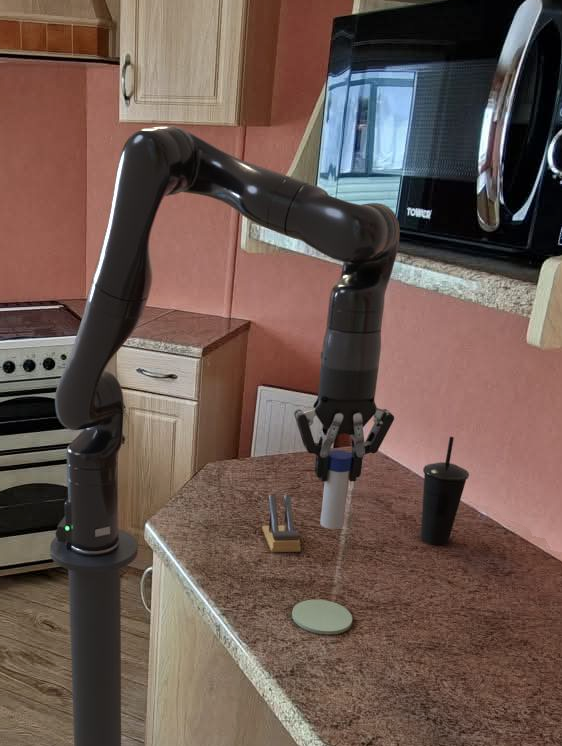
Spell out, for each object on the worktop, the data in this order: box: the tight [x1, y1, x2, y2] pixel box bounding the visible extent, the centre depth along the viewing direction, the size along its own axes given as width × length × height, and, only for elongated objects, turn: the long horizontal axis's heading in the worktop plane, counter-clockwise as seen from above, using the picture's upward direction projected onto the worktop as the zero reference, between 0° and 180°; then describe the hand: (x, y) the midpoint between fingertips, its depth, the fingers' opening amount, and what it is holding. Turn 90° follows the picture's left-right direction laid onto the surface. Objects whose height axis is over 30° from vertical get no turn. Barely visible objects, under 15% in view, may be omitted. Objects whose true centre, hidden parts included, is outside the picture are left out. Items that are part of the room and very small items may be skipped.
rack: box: [261, 493, 302, 553], centre depth 144 cm, size 9×5×8 cm, turn 2°
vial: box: [319, 449, 353, 530], centre depth 113 cm, size 10×4×10 cm
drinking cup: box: [420, 436, 470, 546], centre depth 142 cm, size 8×8×20 cm
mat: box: [291, 598, 353, 635], centre depth 121 cm, size 9×9×1 cm
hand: (336, 478), depth 113 cm, fingers closed on vial, 3 cm apart
